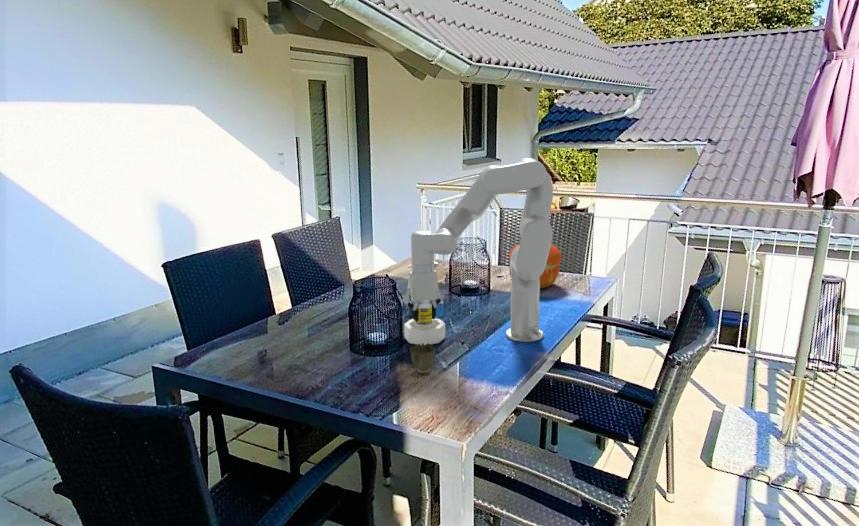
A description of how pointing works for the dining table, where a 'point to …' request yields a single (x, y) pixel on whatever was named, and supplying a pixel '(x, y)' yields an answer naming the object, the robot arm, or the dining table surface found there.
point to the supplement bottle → (424, 313)
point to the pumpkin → (548, 266)
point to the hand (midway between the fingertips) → (424, 318)
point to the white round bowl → (424, 332)
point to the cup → (422, 357)
